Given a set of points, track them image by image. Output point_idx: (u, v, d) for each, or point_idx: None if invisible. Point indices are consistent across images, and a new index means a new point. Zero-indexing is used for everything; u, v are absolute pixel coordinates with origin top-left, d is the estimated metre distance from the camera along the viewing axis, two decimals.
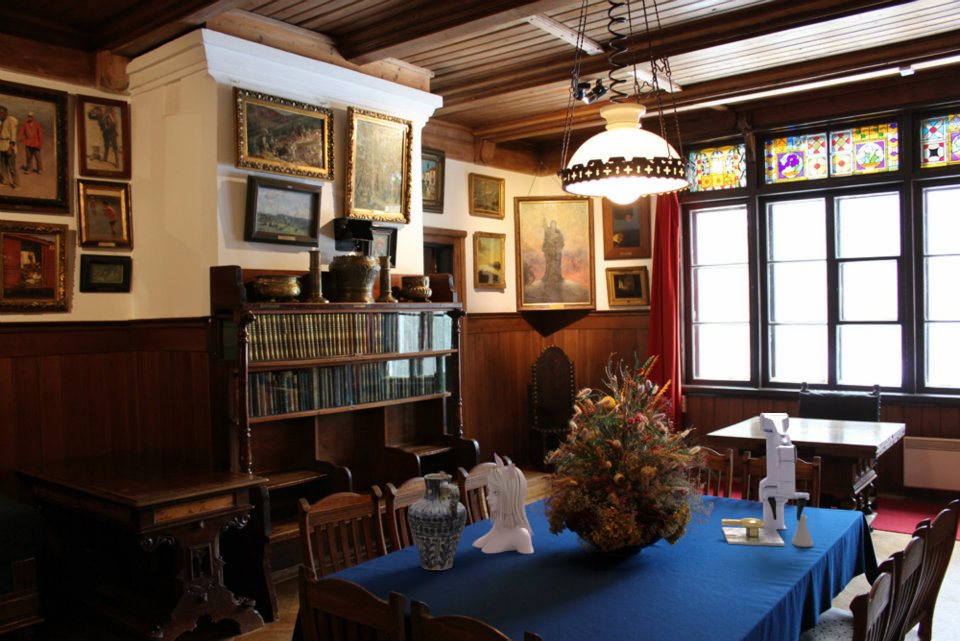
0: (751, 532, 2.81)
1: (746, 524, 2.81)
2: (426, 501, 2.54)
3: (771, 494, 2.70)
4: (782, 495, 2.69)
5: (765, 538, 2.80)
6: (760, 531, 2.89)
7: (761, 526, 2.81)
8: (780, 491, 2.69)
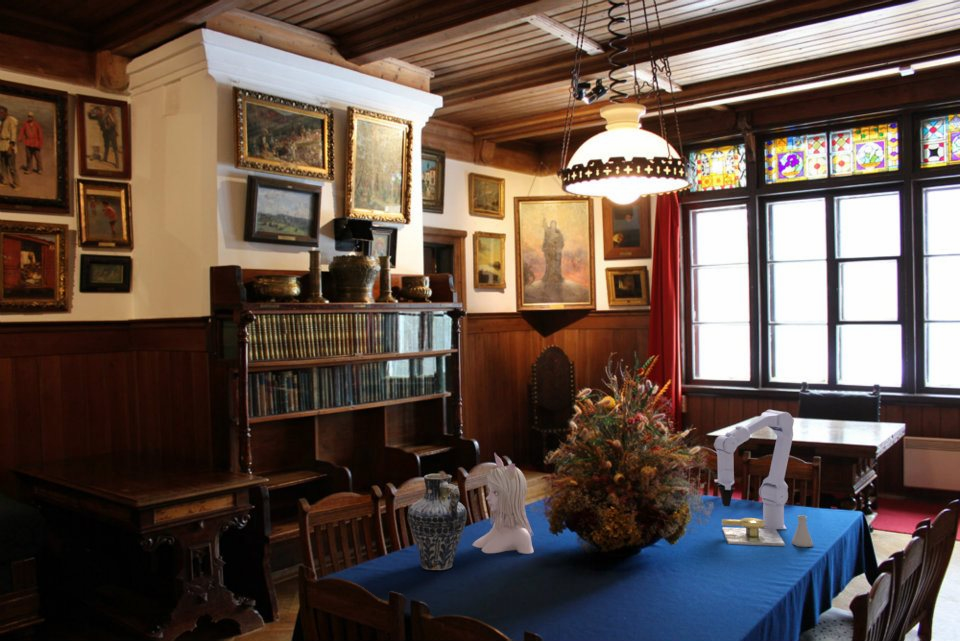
0: (751, 532, 2.81)
1: (746, 524, 2.81)
2: (426, 501, 2.54)
3: None
4: (718, 480, 2.93)
5: (765, 538, 2.80)
6: (760, 531, 2.89)
7: (761, 526, 2.81)
8: None
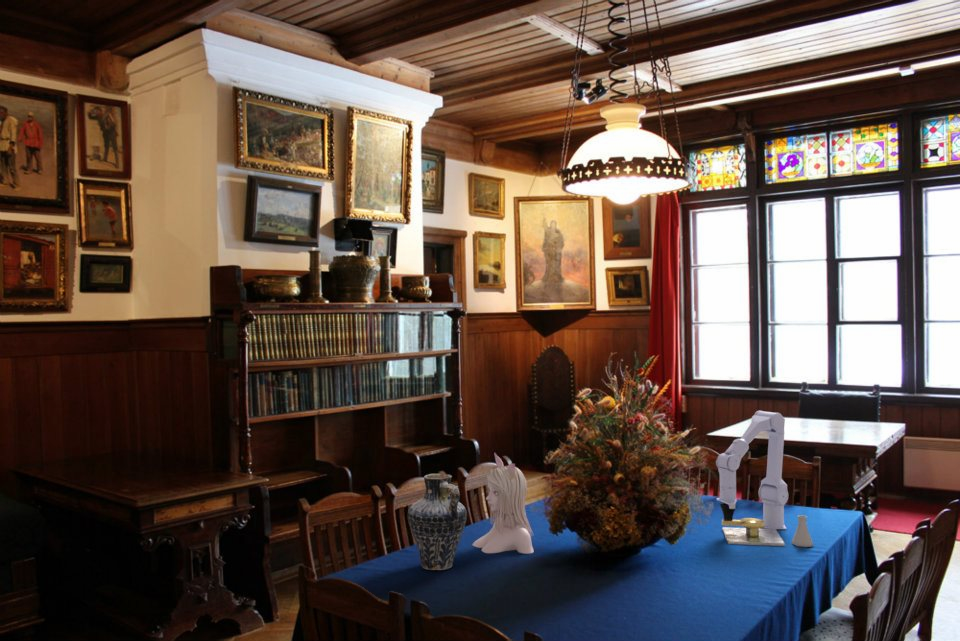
0: (751, 532, 2.81)
1: (746, 524, 2.81)
2: (426, 501, 2.54)
3: None
4: None
5: (765, 538, 2.80)
6: (760, 531, 2.89)
7: (761, 526, 2.81)
8: None
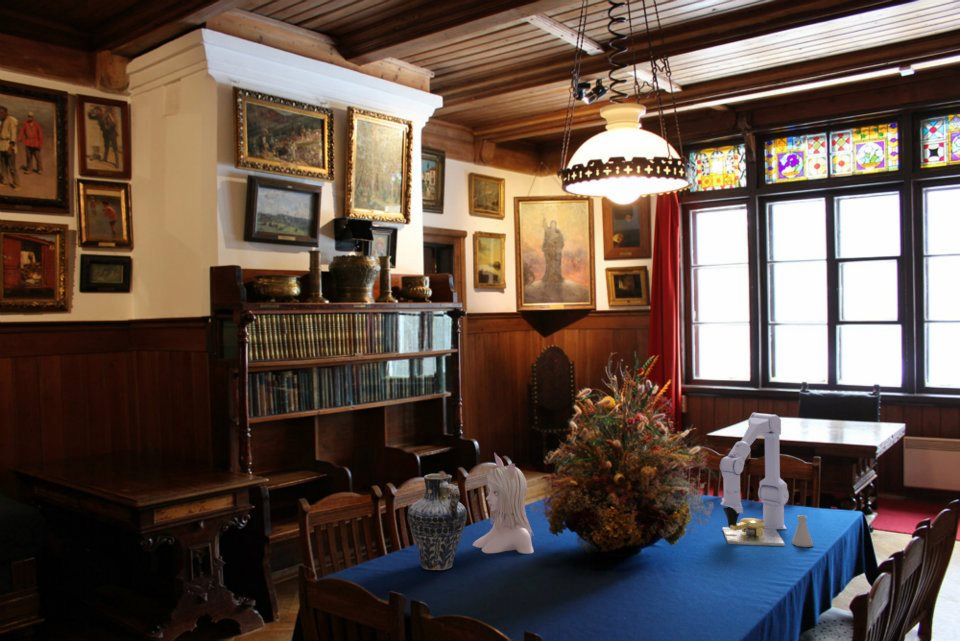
0: (759, 532, 2.81)
1: (755, 525, 2.80)
2: (426, 501, 2.54)
3: (723, 500, 2.87)
4: None
5: (765, 538, 2.80)
6: None
7: None
8: None
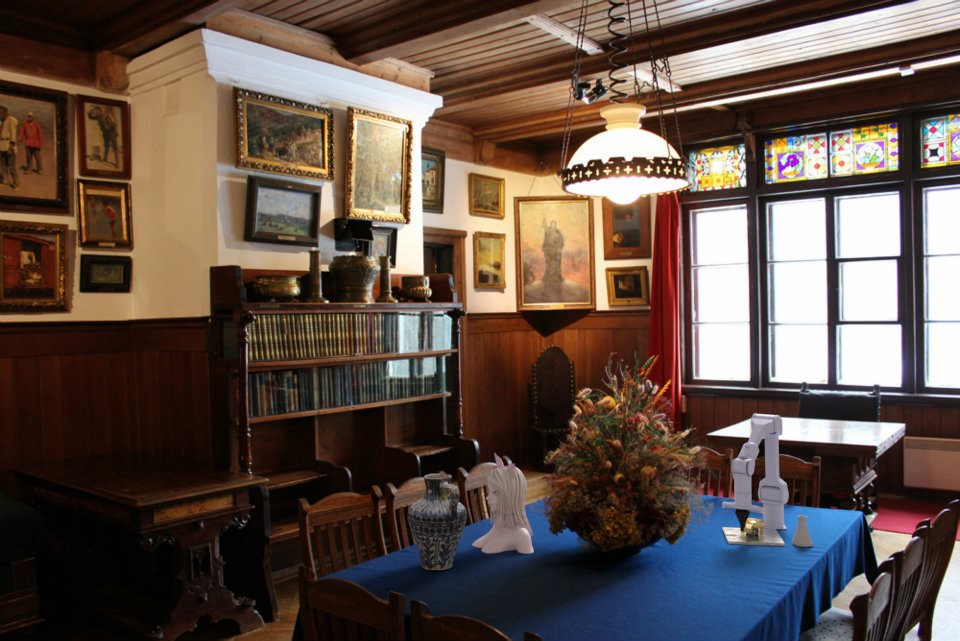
0: (762, 531, 2.82)
1: (760, 524, 2.81)
2: (426, 501, 2.54)
3: (727, 504, 2.80)
4: (735, 506, 2.77)
5: (765, 538, 2.80)
6: None
7: None
8: (735, 502, 2.78)
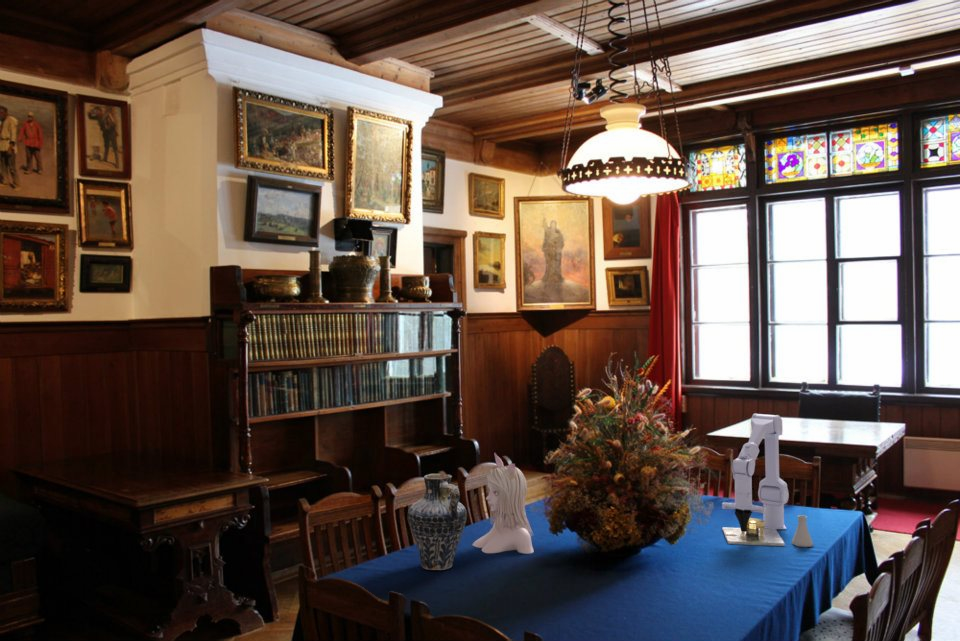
0: None
1: (762, 524, 2.81)
2: (426, 501, 2.54)
3: (728, 505, 2.79)
4: (736, 507, 2.76)
5: (765, 538, 2.80)
6: None
7: None
8: (735, 503, 2.77)
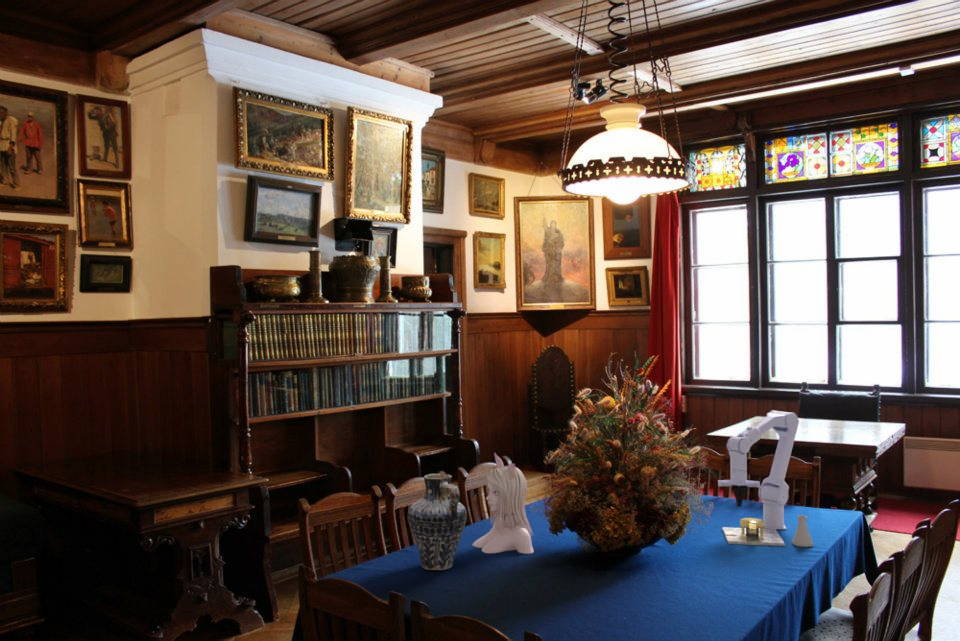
0: None
1: (762, 524, 2.81)
2: (426, 501, 2.54)
3: (724, 482, 2.89)
4: (734, 483, 2.87)
5: (765, 538, 2.80)
6: None
7: None
8: (733, 480, 2.88)
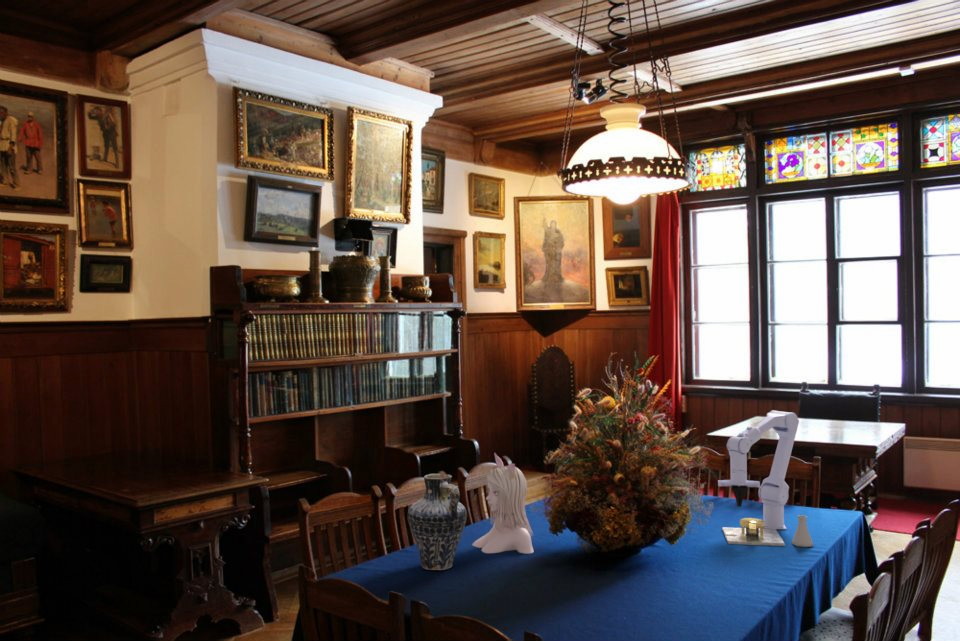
0: None
1: (762, 524, 2.81)
2: (426, 501, 2.54)
3: (724, 482, 2.89)
4: (734, 483, 2.87)
5: (765, 538, 2.80)
6: None
7: None
8: (733, 480, 2.88)
